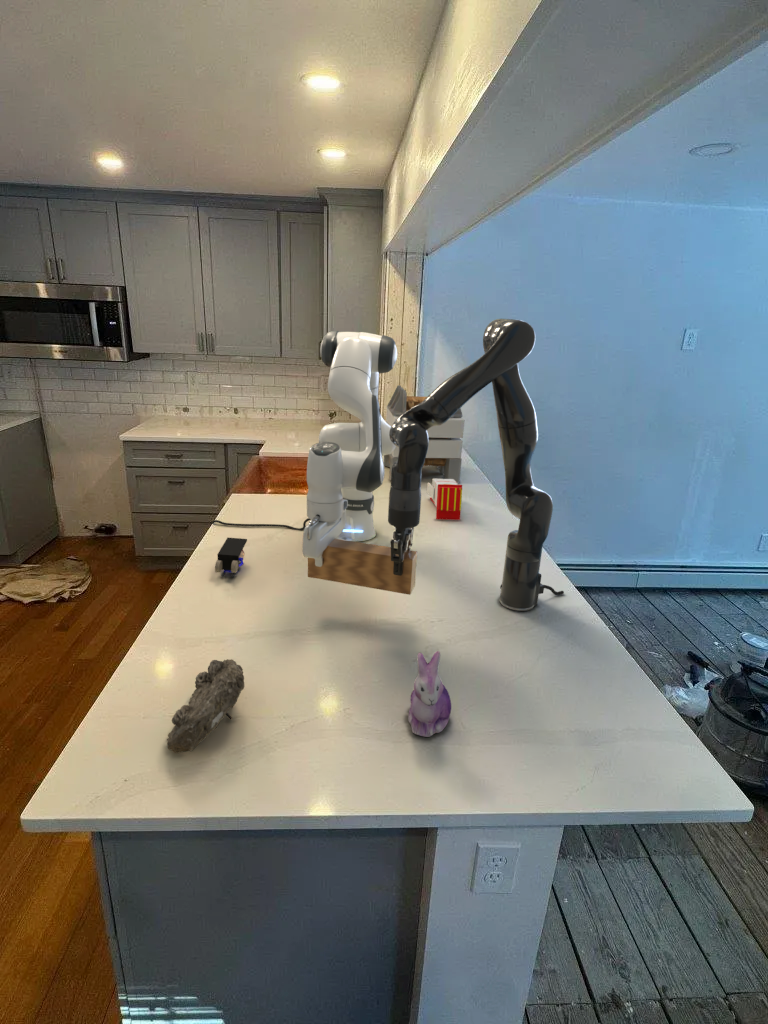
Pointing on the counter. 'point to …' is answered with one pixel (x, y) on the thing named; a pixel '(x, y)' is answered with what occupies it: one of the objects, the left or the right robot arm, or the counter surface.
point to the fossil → (206, 705)
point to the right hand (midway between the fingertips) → (400, 569)
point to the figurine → (429, 699)
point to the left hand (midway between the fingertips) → (324, 560)
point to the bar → (364, 566)
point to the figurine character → (230, 556)
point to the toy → (446, 498)
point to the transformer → (430, 437)
